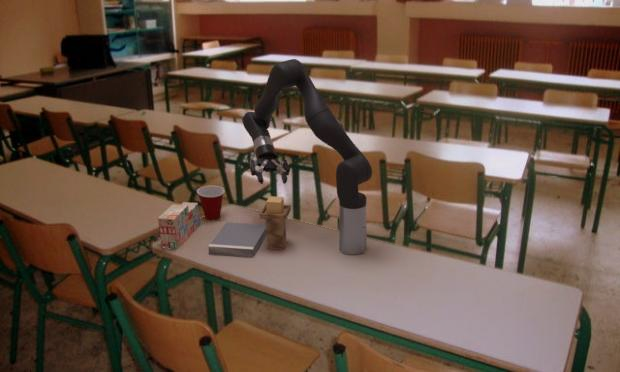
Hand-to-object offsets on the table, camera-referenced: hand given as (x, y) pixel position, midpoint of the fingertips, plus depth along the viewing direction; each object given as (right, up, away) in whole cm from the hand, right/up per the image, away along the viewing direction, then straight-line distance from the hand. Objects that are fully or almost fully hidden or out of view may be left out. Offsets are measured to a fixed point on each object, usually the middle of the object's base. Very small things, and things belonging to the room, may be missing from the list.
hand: (273, 182), depth 199 cm
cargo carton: (+1, -11, -5) cm, 12 cm away
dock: (-13, -22, +3) cm, 25 cm away
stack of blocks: (-35, -20, +9) cm, 41 cm away
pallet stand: (+1, -22, 0) cm, 23 cm away
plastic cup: (-26, -14, +24) cm, 38 cm away
